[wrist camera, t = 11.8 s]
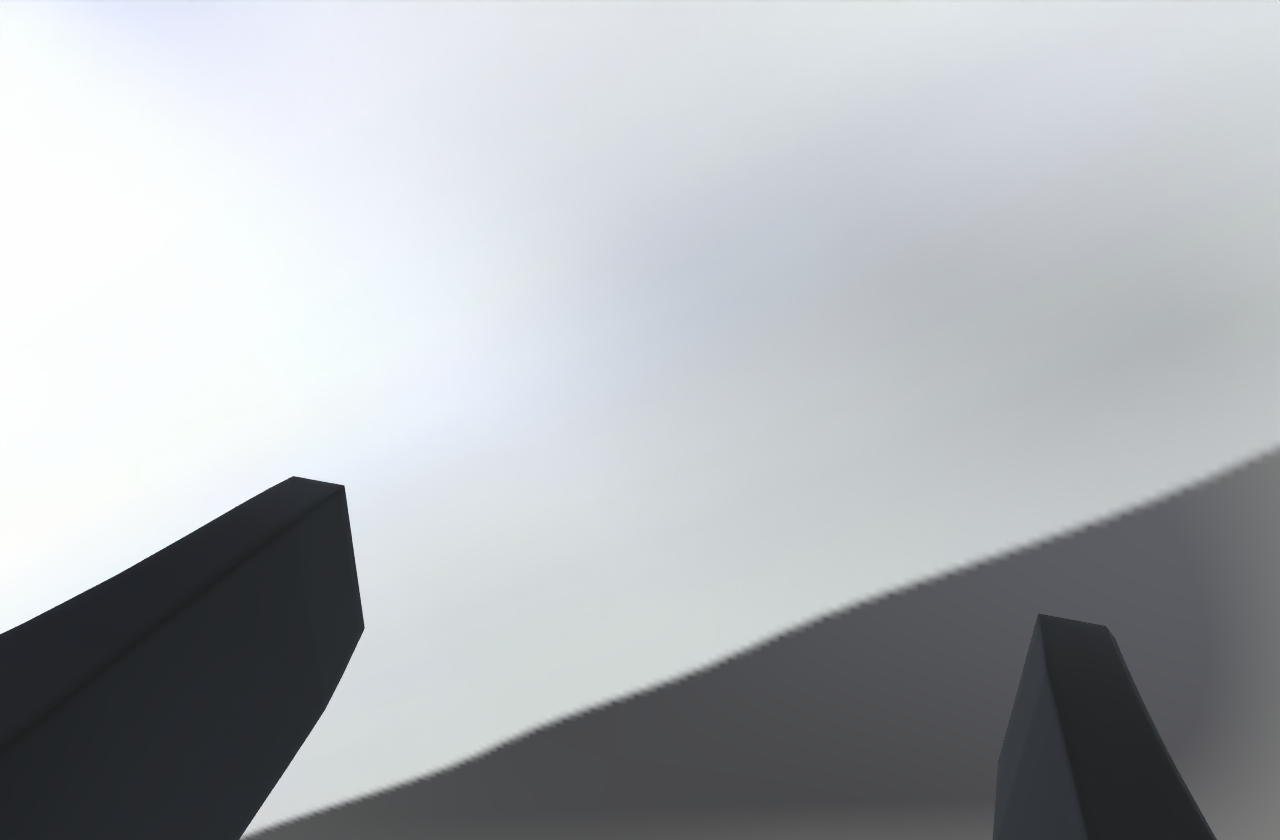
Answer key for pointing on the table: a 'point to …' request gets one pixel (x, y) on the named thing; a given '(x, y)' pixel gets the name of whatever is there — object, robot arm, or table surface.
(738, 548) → the table surface
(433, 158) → the table surface
